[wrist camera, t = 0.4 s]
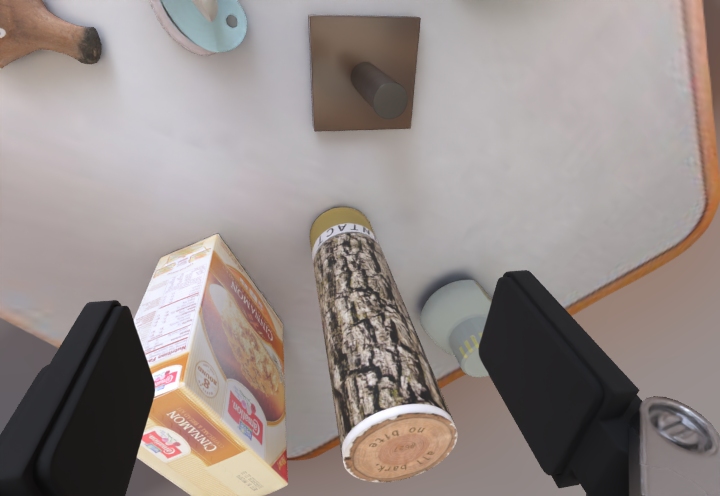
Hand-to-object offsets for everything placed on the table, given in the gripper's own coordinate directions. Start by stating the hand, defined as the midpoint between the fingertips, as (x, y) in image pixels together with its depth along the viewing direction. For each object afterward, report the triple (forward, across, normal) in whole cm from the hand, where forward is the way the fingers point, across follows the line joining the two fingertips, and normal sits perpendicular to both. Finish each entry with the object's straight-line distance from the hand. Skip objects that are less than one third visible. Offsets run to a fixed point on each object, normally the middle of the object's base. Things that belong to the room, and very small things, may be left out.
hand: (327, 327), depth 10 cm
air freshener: (+30, -20, +26) cm, 44 cm away
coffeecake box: (+30, +8, +22) cm, 38 cm away
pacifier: (+30, +7, -6) cm, 31 cm away
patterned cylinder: (+30, -5, +14) cm, 34 cm away
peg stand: (+30, -6, -2) cm, 30 cm away
